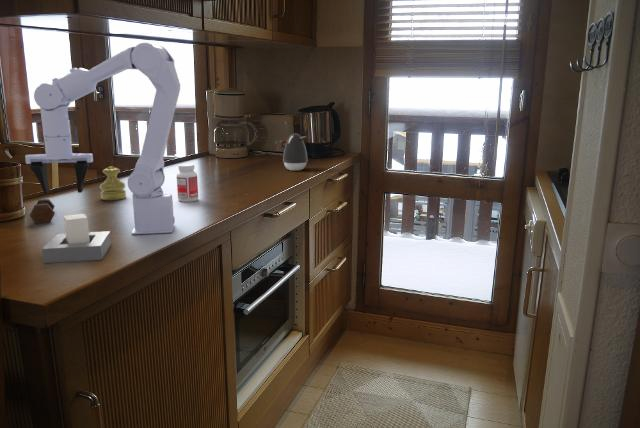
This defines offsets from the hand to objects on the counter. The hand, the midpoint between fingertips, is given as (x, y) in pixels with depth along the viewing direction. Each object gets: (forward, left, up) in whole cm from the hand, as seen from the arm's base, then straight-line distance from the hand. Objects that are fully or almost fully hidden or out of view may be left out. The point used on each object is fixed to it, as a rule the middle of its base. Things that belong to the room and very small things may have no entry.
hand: (63, 192), depth 128 cm
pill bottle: (-28, -29, -10) cm, 41 cm away
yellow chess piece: (-5, -36, -10) cm, 38 cm away
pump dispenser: (-70, -81, -10) cm, 107 cm away
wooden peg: (-7, +20, -9) cm, 23 cm away
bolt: (+9, -15, -10) cm, 20 cm away
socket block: (-7, +20, -9) cm, 23 cm away
